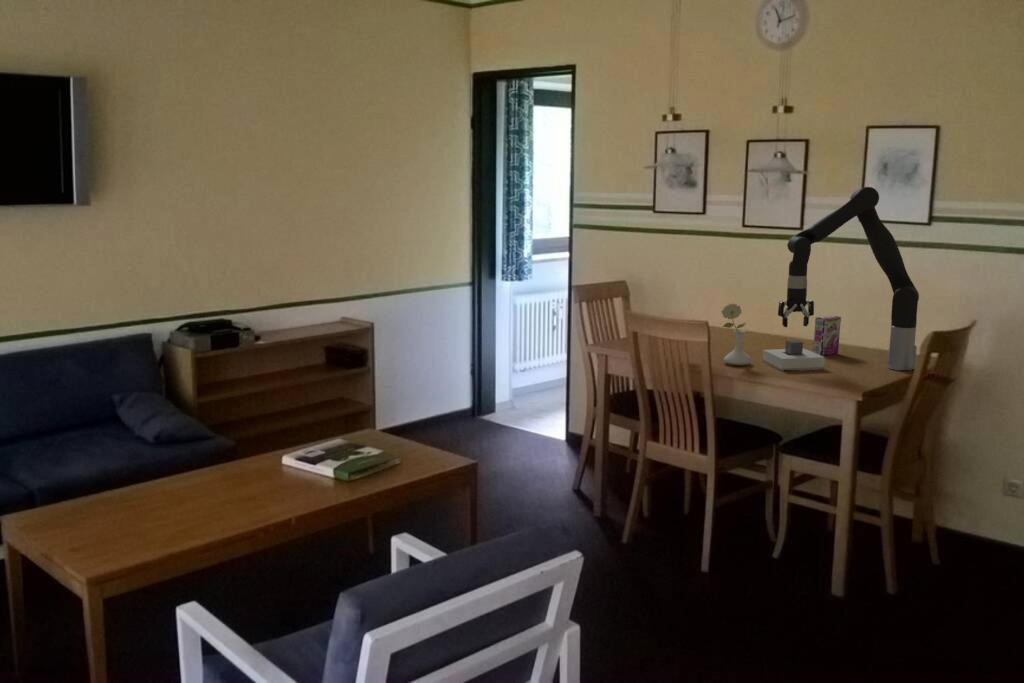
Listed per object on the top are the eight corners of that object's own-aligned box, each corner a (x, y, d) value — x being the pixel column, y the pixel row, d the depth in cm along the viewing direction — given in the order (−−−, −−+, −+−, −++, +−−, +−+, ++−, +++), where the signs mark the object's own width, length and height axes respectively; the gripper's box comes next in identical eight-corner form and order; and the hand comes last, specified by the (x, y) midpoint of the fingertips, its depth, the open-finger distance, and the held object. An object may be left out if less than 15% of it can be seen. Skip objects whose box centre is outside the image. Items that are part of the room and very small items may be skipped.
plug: (796, 361, 383) (797, 340, 382) (801, 364, 378) (803, 342, 377) (784, 362, 383) (785, 340, 381) (789, 364, 378) (791, 342, 376)
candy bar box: (821, 356, 398) (824, 318, 395) (812, 354, 402) (814, 317, 399) (839, 353, 404) (841, 316, 401) (829, 351, 408) (832, 314, 405)
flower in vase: (753, 362, 386) (756, 302, 382) (750, 368, 376) (753, 306, 371) (721, 360, 391) (723, 301, 386) (717, 365, 380) (720, 304, 375)
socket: (803, 360, 391) (804, 348, 390) (824, 369, 373) (824, 357, 372) (762, 361, 388) (763, 349, 387) (781, 371, 371) (782, 358, 370)
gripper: (809, 284, 379) (807, 324, 382) (776, 285, 377) (774, 325, 380) (818, 287, 372) (816, 327, 375) (784, 288, 370) (782, 328, 373)
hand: (795, 326), depth 377 cm, fingers open, 8 cm apart
